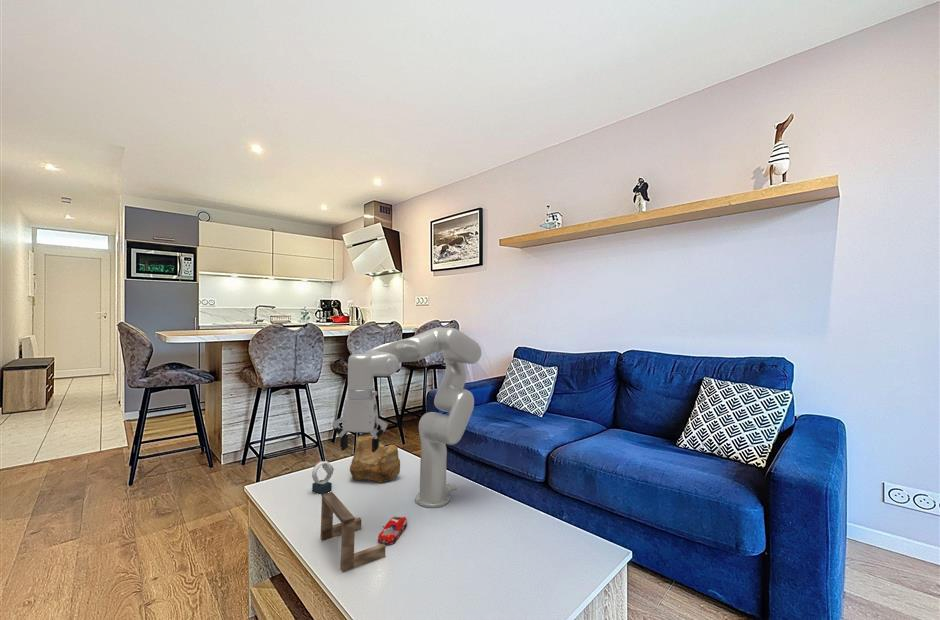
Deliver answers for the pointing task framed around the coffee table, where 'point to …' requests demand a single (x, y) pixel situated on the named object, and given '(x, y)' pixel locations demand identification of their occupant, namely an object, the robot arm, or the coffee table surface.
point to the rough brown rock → (374, 461)
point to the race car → (392, 530)
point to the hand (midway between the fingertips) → (359, 449)
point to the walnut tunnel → (345, 533)
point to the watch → (322, 485)
